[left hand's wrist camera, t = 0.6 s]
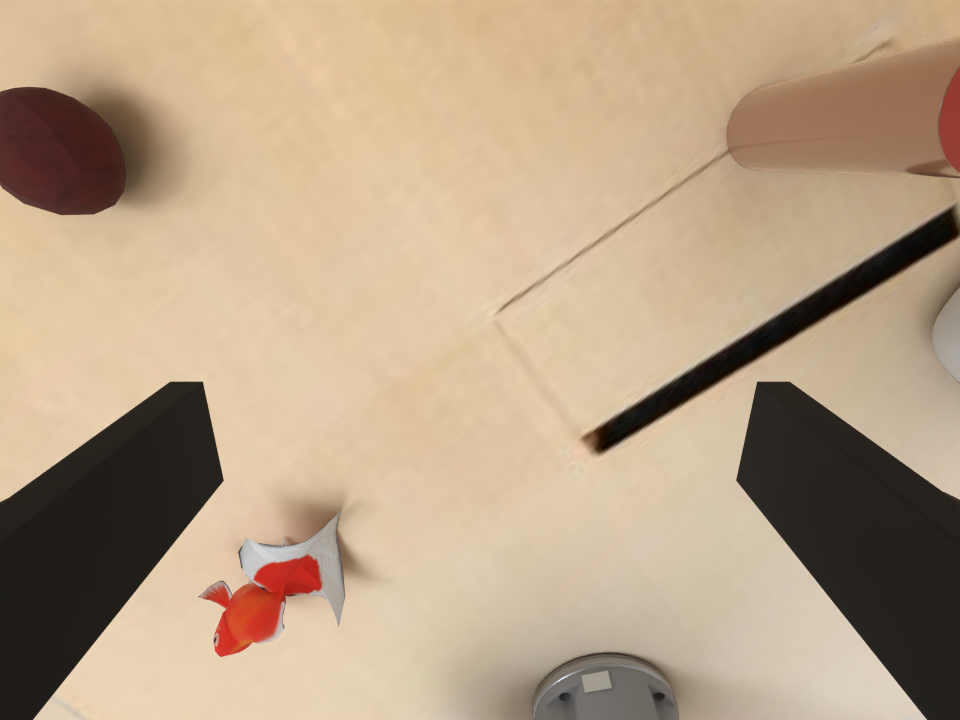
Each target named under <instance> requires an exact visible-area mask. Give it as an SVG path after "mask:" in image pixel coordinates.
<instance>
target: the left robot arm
mask: <svg viewBox="0 0 960 720" xmlns="http://www.w3.org/2000/svg"><path fill="white" fill-rule="evenodd" d="M223 481H224V480H223V475H222V470H221V465H220V461H219V456H218V451H217V447H216V442H215V437H214V432H213V428H212V423H211V418H210V414H209V409H208V404H207V399H206V395H205V390H204V385H203V382H169V383H168V384H167V385H165V386H164V387H162V388H161V389H160V390H158V391H157V392H155V393H154V394H153V395H151V396H150V397H149V398H147V399H146V400H144V401H143V402H142V403H140V404H139V405H137V406H136V407H135V408H133V409H132V410H130V411H129V412H128V413H126V414H125V415H123V416H122V417H121V418H119V419H118V420H117V421H115V422H114V423H112V424H111V425H110V426H108V427H107V428H105V429H104V430H103V431H101V432H100V433H98V434H97V435H96V436H94V437H93V438H92V439H90V440H89V441H87V442H86V443H85V444H83V445H82V446H80V447H79V448H78V449H76V450H75V451H73V452H72V453H71V454H69V455H68V456H66V457H65V458H64V459H62V460H61V461H60V462H58V463H57V464H55V465H54V466H53V467H51V468H50V469H48V470H47V471H46V472H44V473H43V474H41V475H40V476H39V477H37V478H36V479H34V480H33V481H32V482H30V483H29V484H28V485H26V486H25V487H23V488H22V489H21V490H19V491H18V492H16V493H15V494H14V495H12V496H11V497H9V498H8V499H5V500H3V501H1V502H0V720H33V719H34V718H35V716H36V715H37V714H38V713H39V711H40V710H41V709H42V708H43V706H44V705H45V704H46V703H47V701H48V700H49V699H50V698H51V696H52V695H53V694H54V693H55V691H56V690H57V689H58V688H59V686H60V685H61V684H62V683H63V681H64V680H65V679H66V678H67V676H68V675H69V674H70V673H71V671H72V670H73V669H74V668H75V666H76V665H77V664H78V663H79V661H80V660H81V659H82V658H83V656H84V655H85V654H86V652H87V651H88V650H89V649H90V647H91V646H92V645H93V644H94V642H95V641H96V640H97V639H98V637H99V636H100V635H101V634H102V632H103V631H104V630H105V629H106V627H107V626H108V625H109V624H110V622H111V621H112V620H113V619H114V617H115V616H116V615H117V614H118V612H119V611H120V610H121V609H122V607H123V606H124V605H125V604H126V602H127V601H128V600H129V599H130V597H131V596H132V595H133V594H134V592H135V591H136V590H137V589H138V587H139V586H140V585H141V584H142V582H143V581H144V580H145V579H146V577H147V576H148V575H149V574H150V572H151V571H152V570H153V568H154V567H155V566H156V565H157V563H158V562H159V561H160V560H161V558H162V557H163V556H164V555H165V553H166V552H167V551H168V550H169V548H170V547H171V546H172V545H173V543H174V542H175V541H176V540H177V538H178V537H179V536H180V535H181V533H182V532H183V531H184V530H185V528H186V527H187V526H188V525H189V523H190V522H191V521H192V520H193V518H194V517H195V516H196V515H197V513H198V512H199V511H200V510H201V508H202V507H203V506H204V505H205V503H206V502H207V501H208V500H209V498H210V497H211V496H212V495H213V493H214V492H215V491H216V490H217V488H218V487H219V486H220V484H221V483H222V482H223ZM736 481H737V482H738V483H739V484H740V486H741V487H742V488H743V490H744V491H745V492H746V493H747V495H748V496H749V497H750V498H751V500H752V501H753V502H754V503H755V505H756V506H757V507H758V508H759V510H760V511H761V512H762V513H763V515H764V516H765V517H766V518H767V520H768V521H769V522H770V523H771V525H772V526H773V527H774V528H775V530H776V531H777V532H778V533H779V535H780V536H781V537H782V538H783V540H784V541H785V542H786V543H787V545H788V546H789V547H790V548H791V550H792V551H793V552H794V553H795V555H796V556H797V557H798V558H799V560H800V561H801V562H802V563H803V565H804V566H805V567H806V568H807V570H808V571H809V572H810V574H811V575H812V576H813V577H814V579H815V580H816V581H817V582H818V584H819V585H820V586H821V587H822V589H823V590H824V591H825V592H826V594H827V595H828V596H829V597H830V599H831V600H832V601H833V602H834V604H835V605H836V606H837V607H838V609H839V610H840V611H841V612H842V614H843V615H844V616H845V617H846V619H847V620H848V621H849V622H850V624H851V625H852V626H853V627H854V629H855V630H856V631H857V632H858V634H859V635H860V636H861V637H862V639H863V640H864V641H865V642H866V644H867V645H868V646H869V647H870V649H871V650H872V651H873V652H874V654H875V655H876V656H877V658H878V659H879V660H880V661H881V663H882V664H883V665H884V666H885V668H886V669H887V670H888V671H889V673H890V674H891V675H892V676H893V678H894V679H895V680H896V681H897V683H898V684H899V685H900V686H901V688H902V689H903V690H904V691H905V693H906V694H907V695H908V696H909V698H910V699H911V700H912V701H913V703H914V704H915V705H916V706H917V708H918V709H919V710H920V711H921V713H922V714H923V715H924V716H925V718H926V719H927V720H960V500H959V499H957V498H955V497H953V496H951V495H949V494H947V493H945V492H942V491H941V490H939V489H938V488H937V487H935V486H934V485H932V484H931V483H930V482H928V481H927V480H926V479H924V478H923V477H921V476H920V475H919V474H917V473H916V472H914V471H913V470H912V469H910V468H909V467H907V466H906V465H905V464H903V463H902V462H900V461H899V460H898V459H896V458H895V457H894V456H892V455H891V454H889V453H888V452H887V451H885V450H884V449H882V448H881V447H880V446H878V445H877V444H875V443H874V442H873V441H871V440H870V439H868V438H867V437H866V436H864V435H863V434H862V433H860V432H859V431H857V430H856V429H855V428H853V427H852V426H850V425H849V424H848V423H846V422H845V421H843V420H842V419H841V418H839V417H838V416H837V415H835V414H834V413H832V412H831V411H830V410H828V409H827V408H825V407H824V406H823V405H821V404H820V403H818V402H817V401H816V400H814V399H813V398H811V397H810V396H809V395H807V394H806V393H805V392H803V391H802V390H800V389H799V388H798V387H796V386H795V385H793V384H792V383H791V382H757V385H756V390H755V395H754V399H753V404H752V409H751V414H750V418H749V423H748V428H747V432H746V437H745V442H744V447H743V451H742V456H741V461H740V465H739V470H738V475H737V480H736ZM532 707H533V720H679V713H678V708H677V702H676V699H675V696H674V694H673V691H672V688H671V685H670V683H669V681H668V680H667V678H666V677H665V676H664V675H663V674H662V673H661V672H660V671H659V670H658V669H657V668H655V667H654V666H652V665H651V664H649V663H647V662H645V661H643V660H640V659H637V658H634V657H630V656H625V655H617V654H601V655H593V656H587V657H583V658H579V659H576V660H573V661H571V662H569V663H566V664H564V665H562V666H561V667H559V668H557V669H556V670H554V671H553V672H552V673H550V674H549V675H548V676H547V677H546V678H545V679H544V680H543V681H542V683H541V684H540V685H539V687H538V689H537V690H536V693H535V695H534V699H533V705H532Z"/></svg>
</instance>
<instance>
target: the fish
mask: <svg viewBox="0 0 960 720" xmlns="http://www.w3.org/2000/svg"><path fill="white" fill-rule="evenodd" d="M339 514H340V512H339V513H338V514H337V515H335V516H334V518H333V519H332V520H331V521H330V522H329V523H328V524H327V525H326V526H325V527H324V528H323V529H322V530H320V531H319V532H318V533H316V534H315V535H314V536H312V537H311V538H309V539H308V540H306V541H305V542H304V543H299V544H294V545H290V546H283V545H284V539H283V541H282V544H281V545H268V544H261V543H256V542H254V541H252V540H250V539H247V538H246V540H245V542H244V543H243V545H242V547H241V549H240V550H239V557H240V563H241V568H242V569H243V571H244V572H245V574H246V575H247V576H248V577H249V578H250V580H249V582H248V584H246V585H244V586H242V587H241V588H240V589H238V590H237V591H236V592H235V593H234V594H233V595H232V593H231V591H230V589H229V588H228V586H227V585H226V583H225V582H224V581H219V582H217V583H215V584H213V585H211V586H210V587H209V588H208V589H207V590H205V591H204V592H203V593H202V594H201V595H200V596H199V597H201V598H203V599H206V600H211V601H213V602H216V603H218V604H219V605H221V606H223V607H224V608H226V611H224V612H223V614H222V617H221V619H220V622H219V625H218V627H217V629H216V632H215V635H214V646H215V652H216V653H217V654H218V655H219V656H220V657H222V656H226V655H231V654H235V653H238V652H241V651H243V650H244V649H246V648H247V647H248V646H249V645H250V644H251V643H252V642H254V643H255V642H256V643H267V642H270V641H273V640H274V639H275V638H277V637H278V636H279V635H280V633H281V632H282V631H283V629H284V625H283V622H282V618H283V613H284V608H285V604H286V599H285V596H295V595H303V594H310V595H315V596H323V597H324V598H325V599H326V600H327V601H328V602H329V603H330V605H331V607H332V609H333V611H334V613H335V616H336V619H337V622H338V627H339V623H340V618H341V614H342V609H343V604H344V599H345V589H344V577H343V566H342V561H341V556H340V551H339V546H338V540H337V534H336V529H337V524H338V518H339Z"/></svg>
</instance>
